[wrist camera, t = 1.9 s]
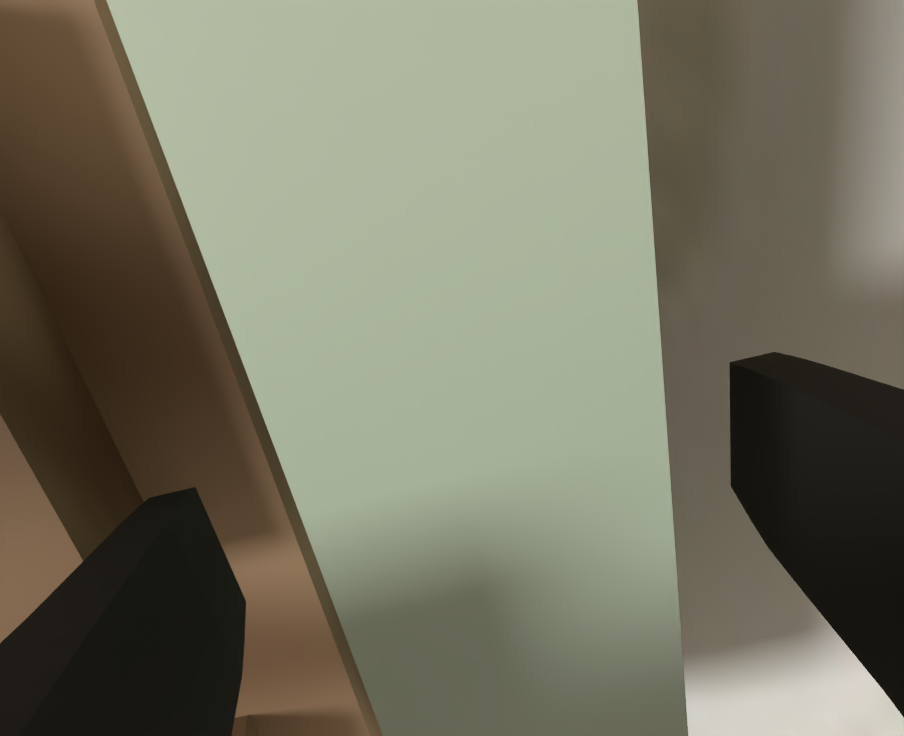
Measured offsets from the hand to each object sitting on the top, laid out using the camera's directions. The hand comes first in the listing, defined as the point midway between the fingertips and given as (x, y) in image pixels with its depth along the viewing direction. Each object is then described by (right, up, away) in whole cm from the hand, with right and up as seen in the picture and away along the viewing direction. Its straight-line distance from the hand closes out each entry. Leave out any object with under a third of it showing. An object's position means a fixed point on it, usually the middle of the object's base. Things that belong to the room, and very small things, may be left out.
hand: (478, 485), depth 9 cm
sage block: (0, +1, +3) cm, 3 cm away
